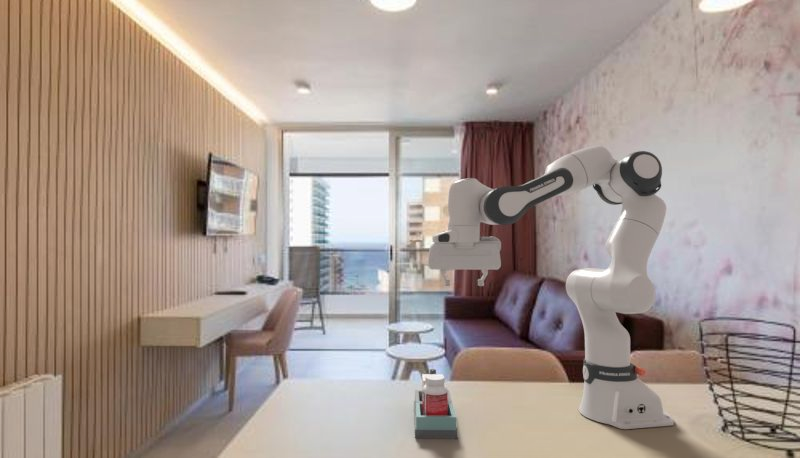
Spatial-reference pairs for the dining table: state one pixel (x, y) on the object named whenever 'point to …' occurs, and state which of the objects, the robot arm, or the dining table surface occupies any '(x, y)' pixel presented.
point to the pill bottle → (435, 396)
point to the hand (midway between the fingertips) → (463, 285)
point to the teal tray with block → (433, 417)
